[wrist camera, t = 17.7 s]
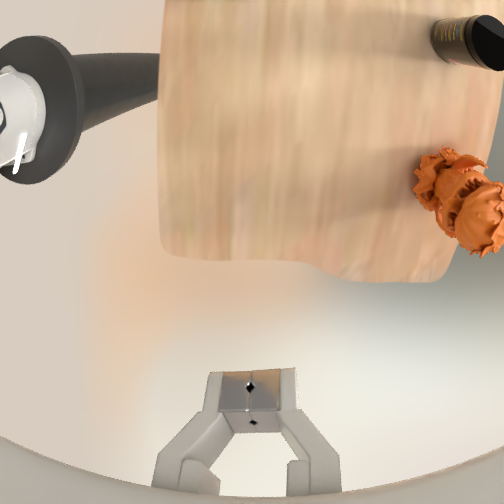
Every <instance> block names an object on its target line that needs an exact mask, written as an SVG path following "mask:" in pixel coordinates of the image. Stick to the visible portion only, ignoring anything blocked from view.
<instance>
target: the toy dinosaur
mask: <svg viewBox="0 0 504 504" xmlns="http://www.w3.org/2000/svg"><path fill="white" fill-rule="evenodd" d="M442 149H443V150H446V152H444V151H441V150H439V152H440V154H441V155H440V156H438V154H437V155H433V154H430V155H427V156H421V164H420V168H421V171H420V170H419V169H416V170H414V173H415V174H416V175H417V177H418V178H419V179H420V180H419V182H418V185H416V186H415V187H414V188H413V191H414V192H415V193H416V195H417V198H416V199H418V200H419V202H420V203H421V204H422V205H423V206H424V208H425V209H427V210H429V211H435V214H436V221H437V223H438V225H439V226H440V228H441V229H442V230H443V231H445V234H446V235H448V236H449V237H451V238H453V237H455V238H457V240H458V241H459V242H460V246H461V247H464V248H466V250H467V251H472V252H471V253H470V255H472V254H474V253H475V252H476V253H477V254H479V253H481V254H480V258H482V257H483V255H485V254H487V253H488V252H491V251H492V252H493V253H495V252H498V250H499V249H500V247H501V246H502V244H503V243H504V185H503V184H502V183H501V182H499V181H498V182H492V181H489V180H488V179H487V177H486V176H485V175H483V174H481V173H479V172H477V171H476V170H473V167H474V166H476V165H481V166H483V167H485V168H487V167H488V166H487V165H485V164H484V162H483V161H481V160H478V158H475V157H474V156H471V155H462V156H459V155H458V154H457V153H456V151H455V150H453V149H452V151H451V149H450V148H444V147H443V146H442ZM467 169H468V170H467ZM422 193H424V195H425V198H426V199H425V198H424V197H423V195H422Z"/></svg>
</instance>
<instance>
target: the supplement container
mask: <svg viewBox="0 0 504 504" xmlns="http://www.w3.org/2000/svg"><path fill="white" fill-rule="evenodd" d="M431 37H432V43H433V46H434V48H435V50H436V52H437V53H438V54H439V55H440V56H441V57H442V58H443V59H444V60H445V61H447V62H449V63H452V64H458V65H466V66H473V67H479V68H485V69H488V70H494V71H503V70H504V25H503V24H502V23H501V22H500V21H499V20H497V19H496V18H494V17H492V16H489V15H476V16H469V17H459V18H450V19H443V20H440V21H438V22H437V23H436V24H435V25H434V27H433V29H432V34H431Z"/></svg>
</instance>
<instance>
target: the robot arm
mask: <svg viewBox="0 0 504 504" xmlns="http://www.w3.org/2000/svg"><path fill="white" fill-rule="evenodd" d="M45 118H46V106H45V100H44V96H43V92H42V90H41V88H40V86H39V84H38V83H37V82H36V80H35V79H34V78H33V77H31V76H30V75H28V74H25V73H20V72H17V71H16V70H15V69H14V68H13V67H12V66H11V65H8V66H5V67H3V68H2V70H1V71H0V168H1V167H2V166H8V165H14V164H15V166H14V170H13V174H15V173H16V172H17V171H18V167H19V164H21V163H28V162H31V161H33V160H34V158H35V153H36V145H37V142H38V140H39V138H40V136H41V134H42V131H43V128H44V124H45ZM24 155H25V156H24ZM256 432H257V433H264V432H265V433H266V432H281V434H282V436H283V437H284V438H285V440H286V441H287V443H288V444H289V446H290V447H291V449H292V450H293V452H294V453H295V455H296V456H297V457H298V459H299V460H293V461H290V462H289V463H288V464H287V489H286V497H236V496H219V490H220V479H219V478H218V477H216V475H214V474H213V473H212V472H211V471H210V470H209V468H210V467H211V466H212V464H213V463H214V462H215V460H216V459H217V458H218V456H219V455H220V454H221V452H222V451H223V450H224V448H225V447H226V446H227V444H228V443H229V441H230V440H231V439H232V437H233V436H234V433H256ZM0 504H504V445H503V446H501V447H499V448H497V449H495V450H492V451H490V452H488V453H486V454H483V455H480V456H478V457H475V458H473V459H470V460H468V461H465V462H462V463H460V464H457V465H454V466H452V467H448V468H445V469H442V470H439V471H436V472H433V473H429V474H426V475H422V476H419V477H415V478H411V479H407V480H403V481H399V482H395V483H390V484H385V485H381V486H376V487H370V488H364V489H358V490H352V491H345V492H342V488H341V473H340V460H339V455H338V454H337V452H336V451H335V450H334V449H333V447H332V446H331V445H330V444H329V443H328V441H327V440H326V439H325V438H324V437H323V435H322V434H321V433H320V432H319V430H318V429H317V428H316V427H315V426H314V424H313V423H312V422H311V421H310V419H309V418H308V417H307V416H306V414H305V413H304V412H303V411H302V409H299V397H298V385H297V376H296V368H285V369H268V370H256V371H242V372H241V371H239V372H210V374H209V376H208V381H207V387H206V392H205V399H204V404H203V410H202V412H198V413H197V414H196V415H195V416H194V417H193V418H192V419H191V420H190V421H189V422H188V423H187V424H186V425H185V426H184V428H183V429H182V430H181V431H180V432H179V433H178V434H177V435H176V436H175V437H174V438H173V439H172V440H171V441H170V442H169V443H168V444H167V445H166V446H165V448H164V449H162V451H161V452H159V454H158V456H157V461H156V465H155V470H154V475H153V480H152V484H151V487H150V486H145V485H140V484H135V483H131V482H127V481H122V480H118V479H114V478H110V477H107V476H103V475H99V474H96V473H93V472H89V471H86V470H83V469H79V468H77V467H74V466H71V465H68V464H65V463H62V462H59V461H57V460H54V459H51V458H49V457H46V456H44V455H41V454H39V453H36V452H34V451H32V450H30V449H27V448H25V447H23V446H21V445H18V444H16V443H14V442H12V441H10V440H8V439H6V438H4V437H1V436H0Z"/></svg>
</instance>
